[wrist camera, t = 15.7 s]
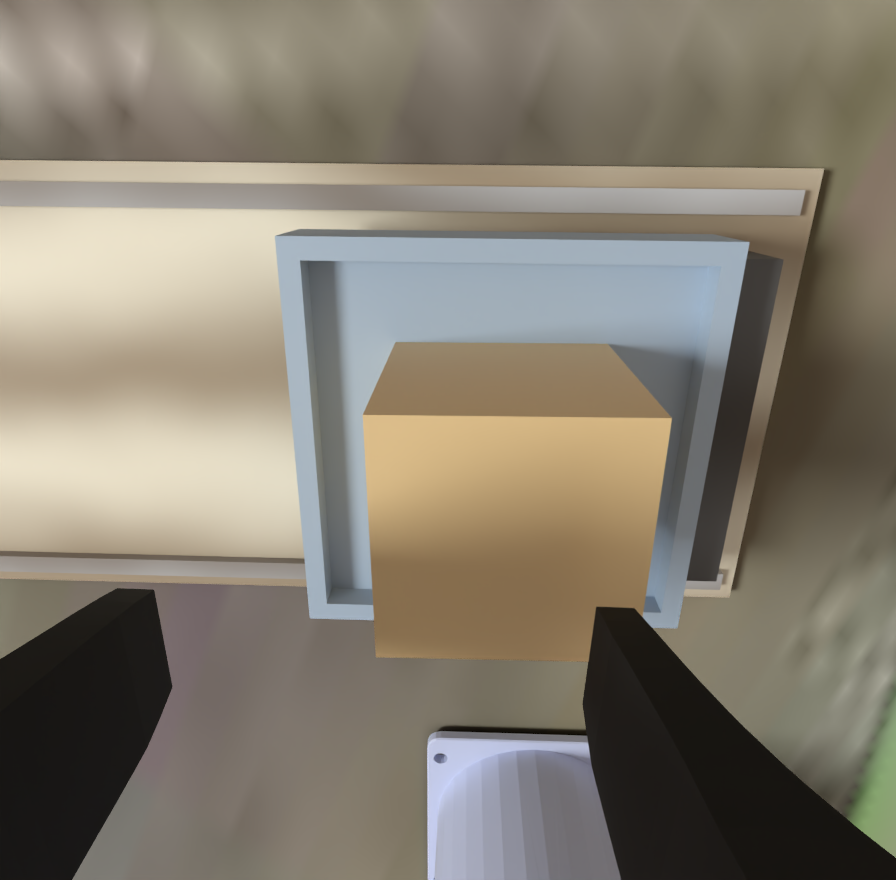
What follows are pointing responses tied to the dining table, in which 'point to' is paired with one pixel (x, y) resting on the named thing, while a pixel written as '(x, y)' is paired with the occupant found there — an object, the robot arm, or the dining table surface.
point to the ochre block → (508, 497)
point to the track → (263, 348)
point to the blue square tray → (496, 321)
